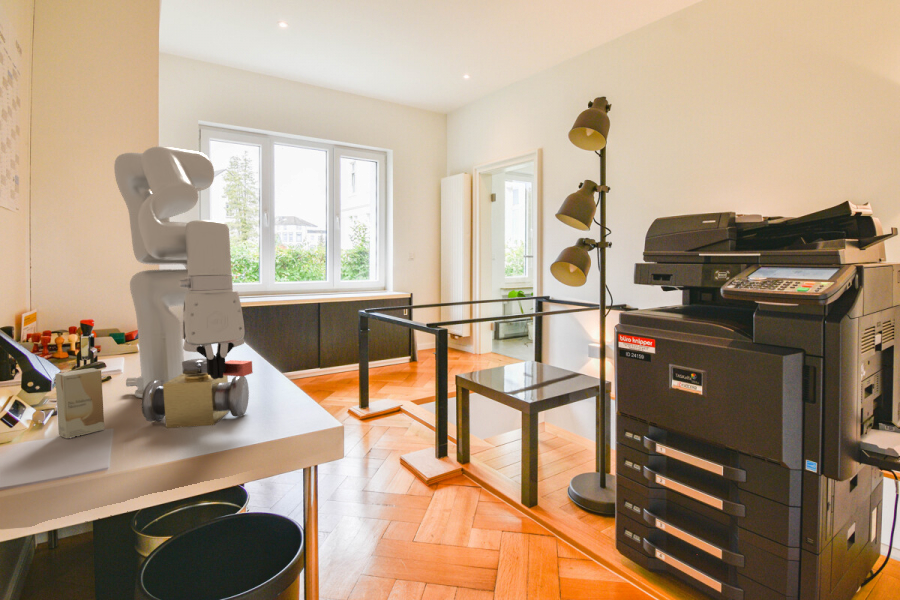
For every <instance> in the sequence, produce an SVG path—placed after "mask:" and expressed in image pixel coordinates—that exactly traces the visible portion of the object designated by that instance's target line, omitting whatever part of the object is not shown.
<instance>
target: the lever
mask: <svg viewBox="0 0 900 600" xmlns="http://www.w3.org/2000/svg"><path fill="white" fill-rule="evenodd" d="M225 367H226V372H225V373H223V375H225V376H229V377H230V376H231V377H235V376H245V377H246V376H249V375H251V374H253V373H254V371H253V361H252V360H235V359H231V360H227V361H226V360H225ZM182 371H183V374H199V373H207V361H206V358H193V359H188V360H184V361H183V362H182Z"/></svg>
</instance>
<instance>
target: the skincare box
mask: <svg viewBox="0 0 900 600" xmlns="http://www.w3.org/2000/svg"><path fill="white" fill-rule="evenodd" d="M54 378H55V391H56V393H55V395H56V409H57V410H56V411H57V422H58V423H57V427H58V435H59V436H60V437H62V438H64V439H66V438H70V437H73V438H76V437H75V436H77V437H80V435H81V436H83V435H87V434H92V433H96V432H100V431H103V430H105V416H104V415H105V414H104V398H103V396H104V395H103V380H102V370H101V369H99V368H98V369H97V368H94V367H91V368H84V369H78V370H77V369H76V370H70V371H64V372H58V373H55V374H54ZM70 439H71V438H70Z"/></svg>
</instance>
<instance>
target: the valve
mask: <svg viewBox="0 0 900 600" xmlns="http://www.w3.org/2000/svg"><path fill="white" fill-rule="evenodd" d="M228 378H229V377H228V376H225V375H223V378H217V379H213V378H211V376H210V375H208V373H199V374H181V375H179V376H177V377H176V378H174V379H172V380H170V381H168V382H165V381H164V380H152V381H150V382H149V383H148V384H147V386H146V387H145V389H144V392H143V396H142V398H141V412H142V414H143V417H144V419H145V420H146V421H147V422H160V421H162V420H163V419H164V418H165V428H166V429H172V428H173V429H174V428H187V427H189V428H190V426H191V427H205V426H206V427H207V426H208V427H209V426H214V425H216V424H217V423H218V422H219V421H220V420H222V418H223V417H224V416H225V415H227V414H228V413H227V412H230V414H231V416H232V417H242V416H244V415H245V413H247V408H248V405H249V398H250V397H249V395H250V392H249V391H250V390H249V383H248V379H247V377H246V376H233V377H232V380H231V381H230V382H229V380H228ZM226 413H227V414H226Z"/></svg>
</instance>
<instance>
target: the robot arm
mask: <svg viewBox="0 0 900 600" xmlns="http://www.w3.org/2000/svg"><path fill="white" fill-rule="evenodd" d="M113 167H114V176H115V177H114V178H115V181H116V184H117V185H116V186H117V188H118V190H119V192H120V194H121V197H122V198H123V201H124V202H125V205H126V207H127V210H128V211H127V212H128V216H129V226H130V234H131V243H132V250H133V254H134V257H135V259H136V261H138V262H139V263H140V264H143V265H154V266H155V265H156V266H157V265H160V266H161V265H162V266H164V265H165V266H166V265H171V266H172V265H174V266H175V265H178V266H179V265H181V266H184V268H183V269H182V268H181V269H179V268H178V269H176V268H175V269H170V268H169V269H166V268H165V269H162V268H161V269H147V270H142V271H139V272H136V273H135V274H134V275H132V277H131V279H130V282H129V291H130V293H131V294H130V295H131V299H132V302H133V306H134V309H135V310H134V311H135V316H136V318H135V319H136V324H137V339H138V351H139V352H138V353H139V363H140V364H139V365H140V376H138V377H137V376H136V377H127V379H126V381H125V386H126V387H137V388H136V390H135V391H134V396H135V397H136V398H139V399H140V398H141V399H142V396H143V392H144V389H145V387H146V386H147V384H148V383H149V382H150V381H152V380H164V381H165V382H168V381H170V380H172V379H174V378H176V377H177V376H179V375H181V374H183V371H182V362H183V361H185V355H184V351H185V352H190V353H191V352H192V353H199V354H200V355H201V356H203V357H204V358H205V359H206V361H207V373H208V375H210V376H211V378H213V379H217V378H223V373H225V372H226V367H225V362H226V357H227V356H228V354H229V353H230V352H231V351H232V350H233V348H237V347H239V346H242V345H243V344H245V340H244V337H245V322H244V317H243V309H242V304H241V299H240V296H239V292H238V290H233V288H234V287H233V272H232V254H231V240H230V238H231V237H230V228H229V226H228V225H227V223H225V222H223V221H220V220H209V219H200V220H199V219H198V220H191V221H188V222H187V221H185V222H183V221H170V218H173V217H177V216H179V215H183V214H185V213H188V212H189V211H190V210H192V209H193V208H194V207H195V206H196V205H197V203H198V200H199V193H198V192H200V191H204V190H208V188H210V187H211V186H212V184H213V182H214V181H215V180H214V179H215V170H214V169H215V168H214V166H213V163H212V161H211V160H210V158H209V157H208V156H207V155H206V154H204V153H203V152H199V151H195V150H188V149H181V148H175V147H168V146H152V147H149V148H147V149H145V150H144V151H143V152H124V153H121V154H119V155H118V156H117V157H116V158H115V160H114V166H113ZM176 306H177V307H178V306H179V307H181V306H183V309H182V310H183V312H182V313H183V314H182V322H181V320H180V318H179V317H178V316H177V315H176V314H175V313H174V312H173V311H172V310H170V308H171V307H176ZM214 344H215V345H216V344H217V348H216V349H217V350H216V353H215V355H214V350H213V347H212V345H214Z"/></svg>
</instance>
